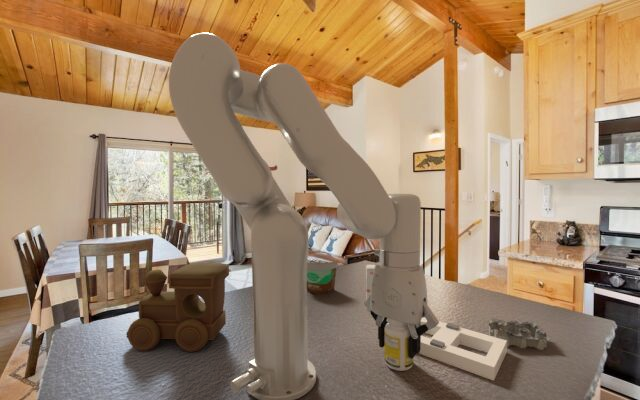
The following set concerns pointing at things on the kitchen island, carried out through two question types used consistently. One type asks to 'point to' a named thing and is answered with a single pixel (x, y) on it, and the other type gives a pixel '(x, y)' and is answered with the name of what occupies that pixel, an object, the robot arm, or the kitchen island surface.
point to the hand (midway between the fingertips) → (398, 348)
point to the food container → (321, 276)
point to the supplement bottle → (397, 345)
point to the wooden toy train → (181, 307)
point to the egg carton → (519, 333)
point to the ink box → (369, 279)
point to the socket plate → (448, 352)
